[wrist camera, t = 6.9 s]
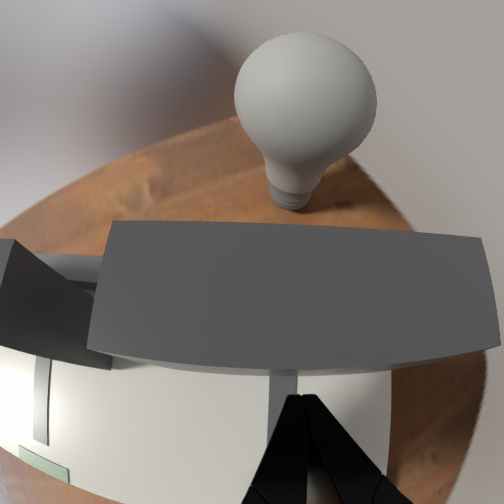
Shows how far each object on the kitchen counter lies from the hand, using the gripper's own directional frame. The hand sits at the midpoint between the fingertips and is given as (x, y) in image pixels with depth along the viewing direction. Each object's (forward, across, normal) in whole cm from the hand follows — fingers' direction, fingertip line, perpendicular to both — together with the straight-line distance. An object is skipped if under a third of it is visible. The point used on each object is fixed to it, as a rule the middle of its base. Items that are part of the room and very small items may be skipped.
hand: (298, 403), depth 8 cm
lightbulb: (+13, 0, -3) cm, 13 cm away
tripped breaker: (+5, 0, +2) cm, 5 cm away
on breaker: (+5, +13, +2) cm, 14 cm away
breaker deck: (+4, +6, +5) cm, 9 cm away
